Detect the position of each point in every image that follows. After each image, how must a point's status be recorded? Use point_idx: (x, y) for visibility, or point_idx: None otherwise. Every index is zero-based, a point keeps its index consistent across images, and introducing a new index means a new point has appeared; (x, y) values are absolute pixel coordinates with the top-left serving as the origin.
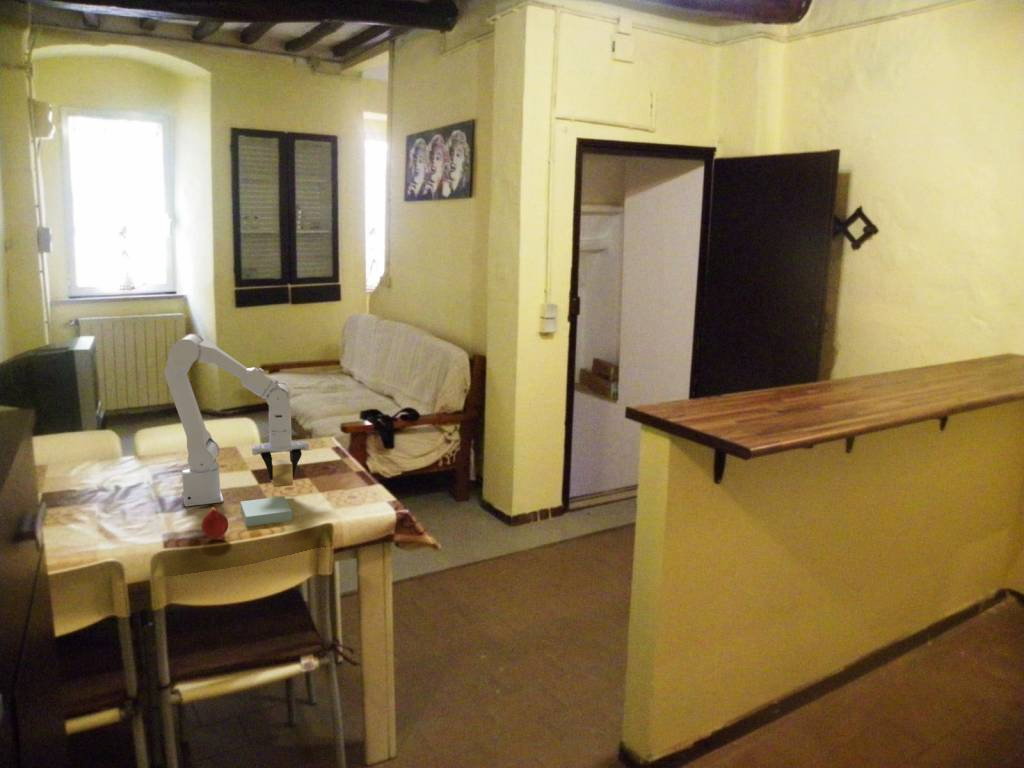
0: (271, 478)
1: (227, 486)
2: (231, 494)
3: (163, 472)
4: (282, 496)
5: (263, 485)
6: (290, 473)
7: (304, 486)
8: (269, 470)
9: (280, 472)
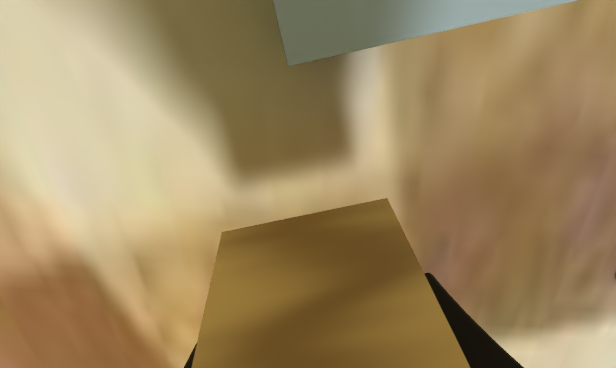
0: None
1: (556, 344)
2: (572, 263)
3: None
4: (304, 59)
5: None
6: (224, 325)
7: None
8: (494, 356)
9: (347, 326)
